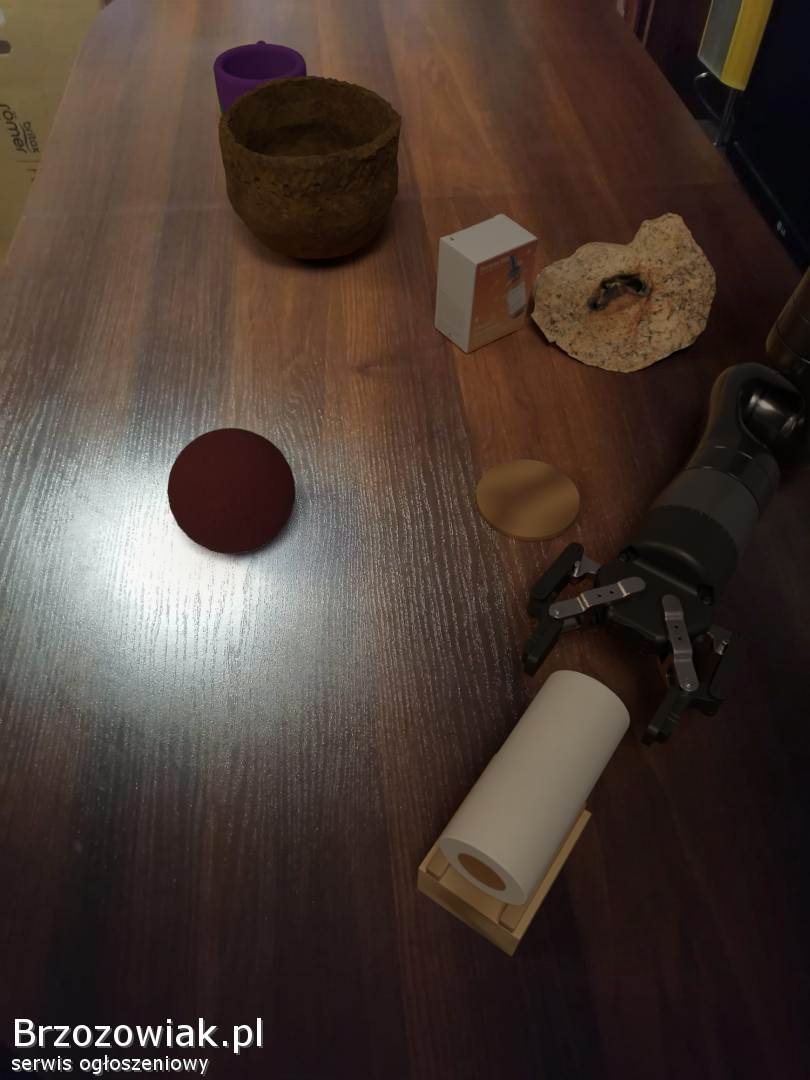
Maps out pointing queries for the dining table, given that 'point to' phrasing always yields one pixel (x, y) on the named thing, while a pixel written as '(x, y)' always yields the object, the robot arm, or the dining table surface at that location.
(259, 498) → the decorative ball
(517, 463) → the coaster
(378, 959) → the dining table surface
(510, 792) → the paper towel roll
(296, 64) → the mug
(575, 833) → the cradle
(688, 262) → the beige speckled lump
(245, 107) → the bowl
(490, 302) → the small box
